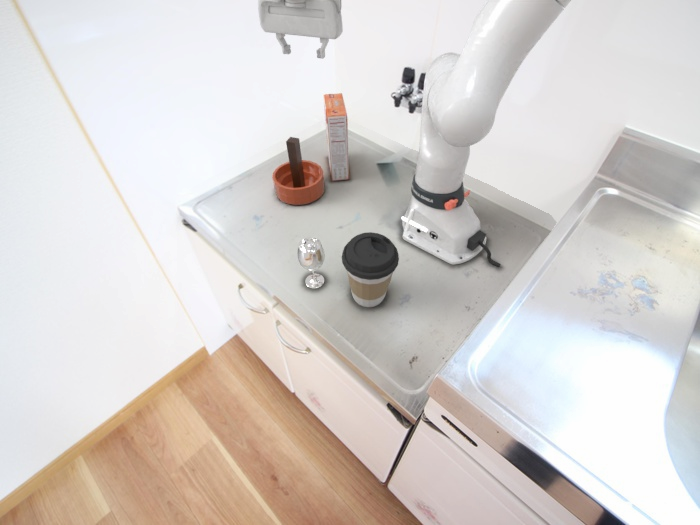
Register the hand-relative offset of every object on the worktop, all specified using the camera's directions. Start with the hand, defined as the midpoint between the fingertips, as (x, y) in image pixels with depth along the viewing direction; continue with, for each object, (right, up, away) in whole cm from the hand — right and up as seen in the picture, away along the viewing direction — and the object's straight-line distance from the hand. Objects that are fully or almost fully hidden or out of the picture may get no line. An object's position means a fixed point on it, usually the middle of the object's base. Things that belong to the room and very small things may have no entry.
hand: (303, 55), depth 85 cm
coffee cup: (+16, -59, -8) cm, 62 cm away
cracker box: (+8, -21, +25) cm, 34 cm away
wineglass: (+3, -56, -5) cm, 57 cm away
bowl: (-3, -30, +18) cm, 35 cm away
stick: (-4, -30, +17) cm, 35 cm away
